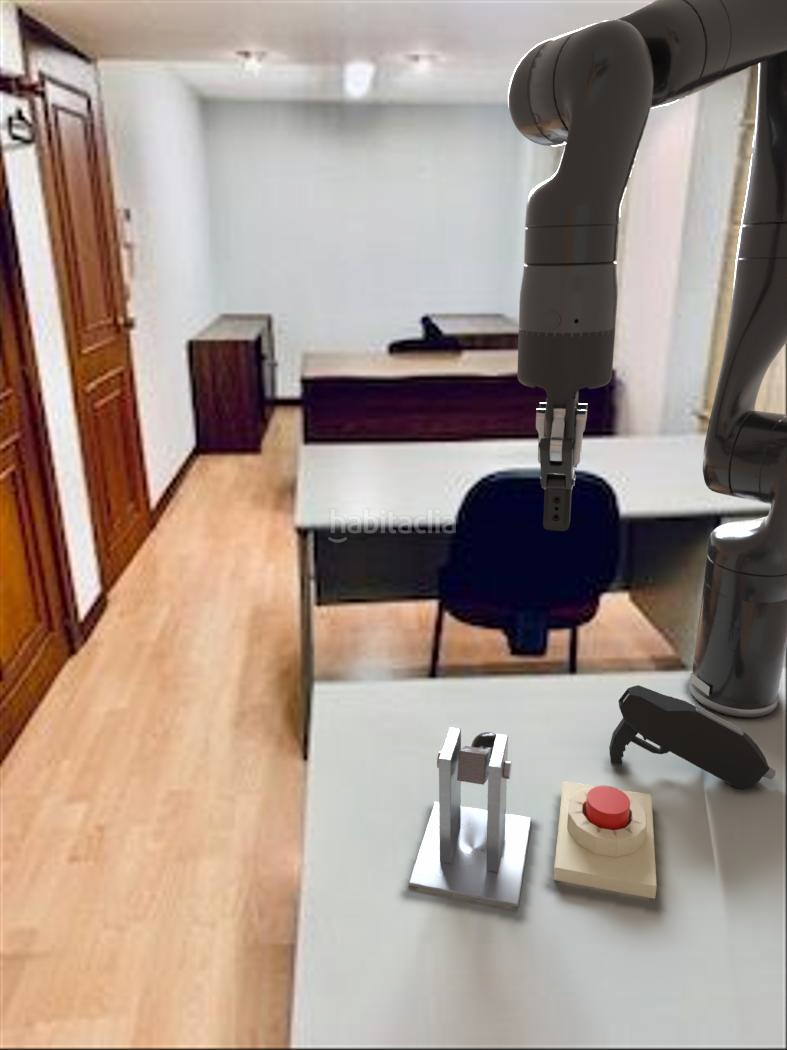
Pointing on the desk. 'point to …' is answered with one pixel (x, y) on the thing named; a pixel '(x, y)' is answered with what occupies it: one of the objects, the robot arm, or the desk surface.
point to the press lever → (476, 759)
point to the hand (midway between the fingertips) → (556, 527)
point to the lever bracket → (473, 834)
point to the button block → (606, 846)
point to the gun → (688, 737)
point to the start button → (607, 807)
